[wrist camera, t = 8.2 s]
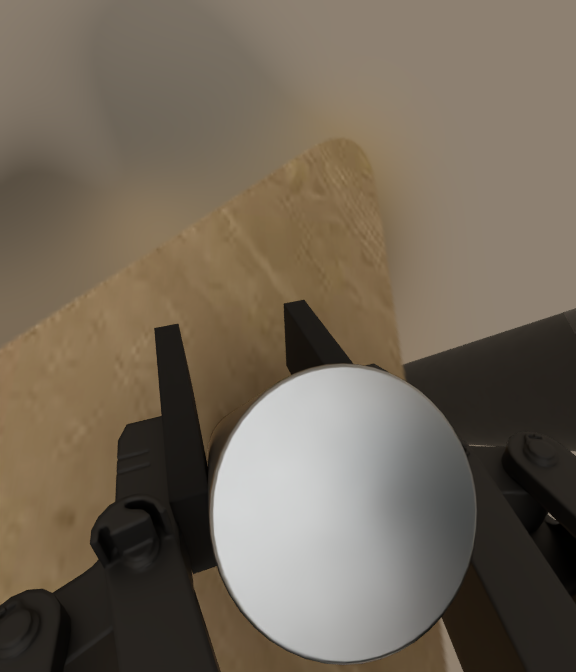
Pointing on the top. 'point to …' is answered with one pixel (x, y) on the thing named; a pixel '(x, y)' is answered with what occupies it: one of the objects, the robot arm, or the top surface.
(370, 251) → the top surface
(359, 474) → the silver metal cylinder
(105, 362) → the top surface
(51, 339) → the top surface
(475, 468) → the robot arm
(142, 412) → the top surface
